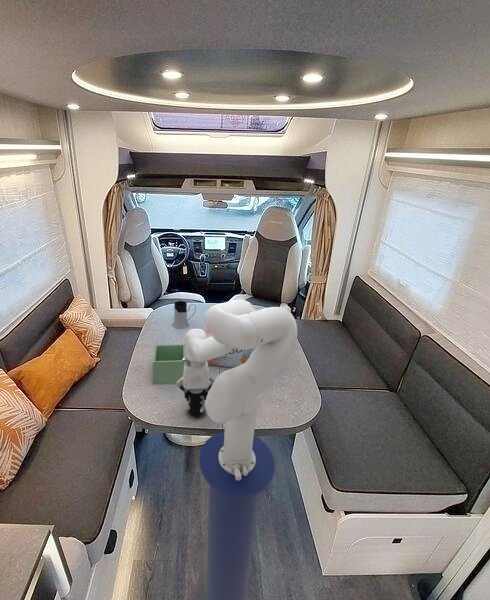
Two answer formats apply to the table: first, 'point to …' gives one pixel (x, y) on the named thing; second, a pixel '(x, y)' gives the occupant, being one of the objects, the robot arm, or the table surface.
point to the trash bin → (168, 363)
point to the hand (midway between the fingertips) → (196, 398)
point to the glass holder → (181, 314)
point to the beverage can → (196, 402)
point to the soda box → (230, 356)
